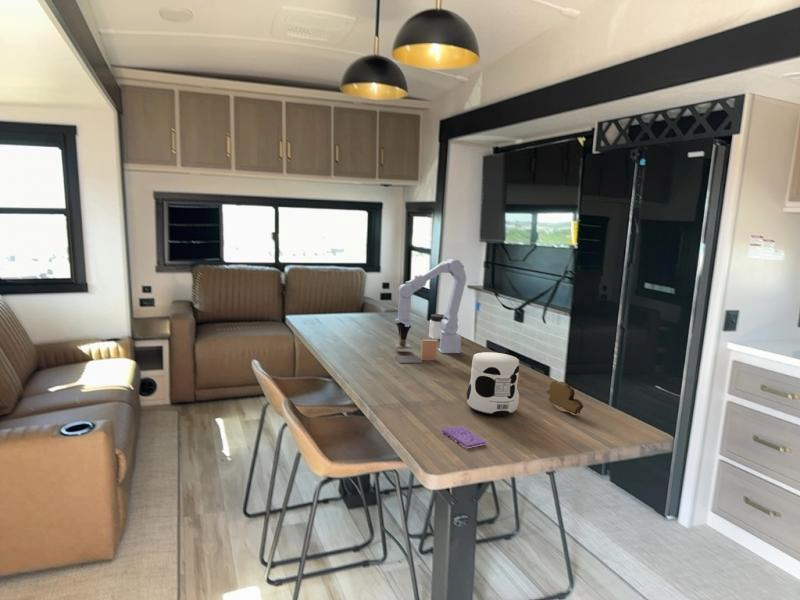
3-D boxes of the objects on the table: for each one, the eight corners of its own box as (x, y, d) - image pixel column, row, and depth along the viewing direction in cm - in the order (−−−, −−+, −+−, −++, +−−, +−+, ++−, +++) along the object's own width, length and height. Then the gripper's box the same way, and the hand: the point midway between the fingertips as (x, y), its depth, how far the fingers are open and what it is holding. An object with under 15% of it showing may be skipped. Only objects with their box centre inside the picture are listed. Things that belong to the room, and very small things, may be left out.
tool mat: (416, 357, 241) (416, 356, 241) (422, 363, 231) (422, 362, 231) (394, 357, 239) (394, 356, 239) (400, 363, 229) (400, 362, 229)
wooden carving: (586, 418, 177) (589, 389, 175) (575, 420, 175) (579, 391, 173) (550, 402, 191) (553, 375, 190) (541, 403, 189) (543, 376, 188)
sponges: (466, 451, 148) (466, 444, 148) (441, 433, 159) (441, 427, 158) (486, 447, 151) (486, 441, 151) (460, 430, 162) (461, 424, 162)
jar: (426, 336, 285) (427, 314, 283) (439, 335, 289) (441, 313, 287) (434, 340, 277) (436, 317, 275) (448, 339, 281) (449, 316, 279)
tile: (435, 359, 240) (436, 339, 238) (436, 360, 238) (437, 340, 237) (420, 359, 238) (421, 339, 237) (421, 360, 237) (422, 340, 235)
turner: (408, 345, 252) (409, 327, 251) (411, 348, 247) (413, 330, 245) (394, 345, 251) (395, 327, 249) (397, 348, 245) (398, 330, 244)
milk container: (482, 397, 192) (486, 348, 189) (526, 410, 181) (531, 359, 178) (455, 409, 179) (459, 357, 176) (501, 424, 168) (506, 368, 165)
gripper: (392, 307, 254) (390, 335, 256) (399, 313, 240) (398, 342, 242) (406, 307, 255) (405, 335, 257) (414, 313, 241) (413, 342, 243)
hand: (402, 338), depth 250 cm, fingers closed on turner, 2 cm apart
